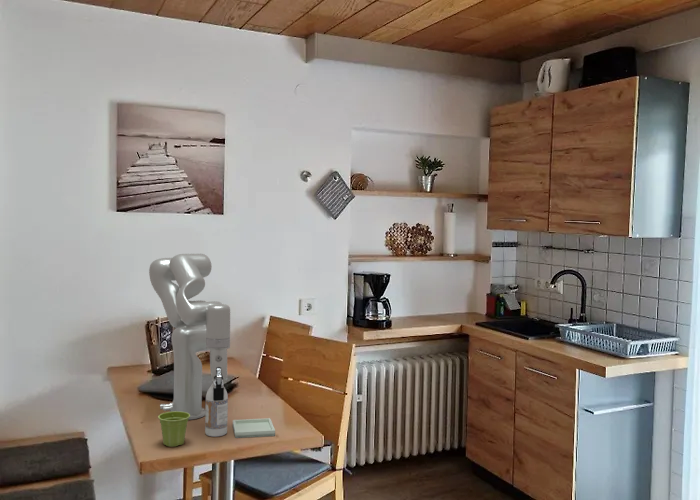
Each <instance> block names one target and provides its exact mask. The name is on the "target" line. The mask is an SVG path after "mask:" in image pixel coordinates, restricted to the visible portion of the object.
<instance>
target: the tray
mask: <svg viewBox="0 0 700 500" xmlns="http://www.w3.org/2000/svg"><path fill="white" fill-rule="evenodd" d="M232 430H233V434H234V438H235V439H245V438H262V437H276V428H275V427H274V424H273V421H272V419H271V418H270V417H268V418H248V419H246V418H245V419H232Z"/></svg>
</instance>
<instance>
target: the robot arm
mask: <svg viewBox="0 0 700 500" xmlns="http://www.w3.org/2000/svg"><path fill="white" fill-rule="evenodd" d="M211 272H212V262H211V259H210V258H209V256H207V255H206V254H205V253H180V254H175V255H174V256H173V257H161V258H158V259H157V258H156V259H155V260H153V261H152V262H151V263H150V265H149V269H148V274H149V280H150V283H151V286H152V288H153V290H154V292H155V293H156V294H157V296H158V298H159V299H160V300H161V301H160V302H161V303H162V306H163V309H164V311H165V314H166V317H167V319H168V322H169V324H170V326H172V327H173V328H175V329H174V330H172V333H171V345H172V353H173V400H172V402H169V403H160V404H159V407H160V408H159V409H160V410H163V412H164V411H165V412H173V411H180V412H186V413H189V414H190V417H189V419H188V421H189V420H197V419H200V418H203V417H205V411H206V408H205V407H202V404H203V403H202V400H203V397H202V396H203V394H202V393H203V364H202V361H201V359H200V358H199V357H198V355H197V354H196V353H199V352H206V351H209V365H210V368H209V369H210V377H211V384H212V383H213V381H214V388H213V400H214V401H222V400H224V387H225V386H224V381H227V380H228V349H230V348H231V307H230V306H229V305H227V304H224V303H222V302H220V301H206V300H190V299H192V298H194V297H196V296H197V295H199V294H200V293H201V292H203V290H204V289H205V286H206V282H205V278H207V277H208V276H209V275H210V274H211ZM174 281H176V283H177V284H176V283H175V282H174ZM216 371H217V373H216ZM221 376H222V378H221ZM223 386H224V387H223Z"/></svg>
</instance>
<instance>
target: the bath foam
mask: <svg viewBox="0 0 700 500" xmlns="http://www.w3.org/2000/svg"><path fill="white" fill-rule="evenodd" d="M216 373H217V371H216ZM221 378H222V376H221ZM212 381H213V380H212ZM223 387H224V400H222V401H214V400H213V388H214V381H213V383H212V382H211V385H210V386H209V388H208V389H207V391H206V395H205V410H206V411H205V416H204V419H205V420H204V421H205V422H204V425H205V426H204V433H205V435H206V436H208V437H211V438H212V437H213V438H214V437H223V436H225V435H226V434H227V433H228V414H229V412H228V409H229V406H228V405H229V396H228V392H227V389H226V387H225V386H224V385H223Z"/></svg>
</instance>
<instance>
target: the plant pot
mask: <svg viewBox="0 0 700 500" xmlns="http://www.w3.org/2000/svg"><path fill="white" fill-rule="evenodd" d="M189 417H190V414H189V413H186V412H180V411H173V412H169V411H165V412H163V413H160V414H159V415H158V416H157V418H158V420H159V423H160V428H161V435H162V444H163V445H164V446H166V447H172V448H174V447H177V446H179V445H180V446H181V445H182V446H183V445H184V443H185V438H186V433H187V427H188V422H189V420H188V419H189Z"/></svg>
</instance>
